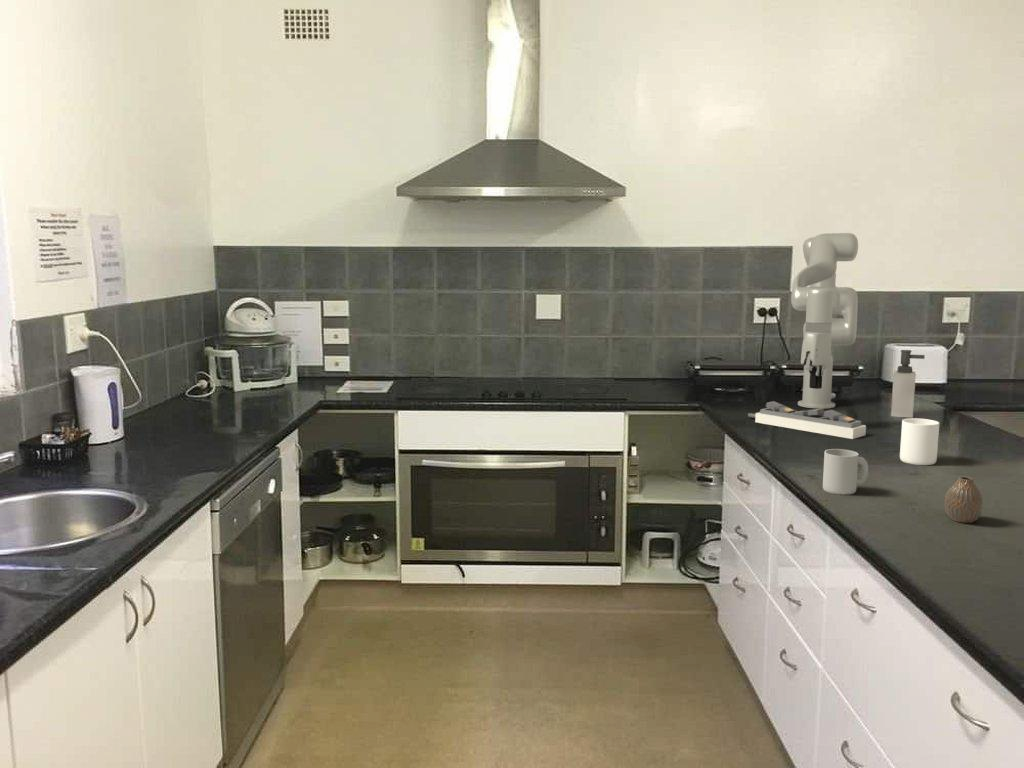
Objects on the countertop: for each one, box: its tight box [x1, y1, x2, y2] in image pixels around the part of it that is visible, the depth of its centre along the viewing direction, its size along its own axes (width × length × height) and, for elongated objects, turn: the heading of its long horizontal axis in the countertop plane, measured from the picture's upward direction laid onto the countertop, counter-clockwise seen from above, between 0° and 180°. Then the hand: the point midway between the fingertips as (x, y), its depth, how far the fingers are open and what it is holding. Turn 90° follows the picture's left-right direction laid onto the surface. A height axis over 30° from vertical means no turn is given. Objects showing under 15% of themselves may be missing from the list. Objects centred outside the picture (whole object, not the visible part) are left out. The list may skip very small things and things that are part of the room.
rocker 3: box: [822, 409, 856, 423], centre depth 240 cm, size 4×8×2 cm, turn 39°
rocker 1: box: [765, 400, 796, 413], centre depth 256 cm, size 4×8×2 cm, turn 39°
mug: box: [899, 417, 940, 466], centre depth 208 cm, size 9×12×11 cm
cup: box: [822, 448, 869, 496], centre depth 182 cm, size 7×10×9 cm
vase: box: [944, 476, 985, 524], centre depth 161 cm, size 7×7×9 cm
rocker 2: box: [794, 408, 825, 416], centre depth 248 cm, size 4×8×2 cm, turn 39°
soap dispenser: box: [890, 349, 926, 418], centre depth 266 cm, size 6×9×22 cm
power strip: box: [747, 407, 867, 440], centre depth 250 cm, size 8×38×4 cm, turn 39°
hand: (815, 388), depth 245 cm, fingers closed
